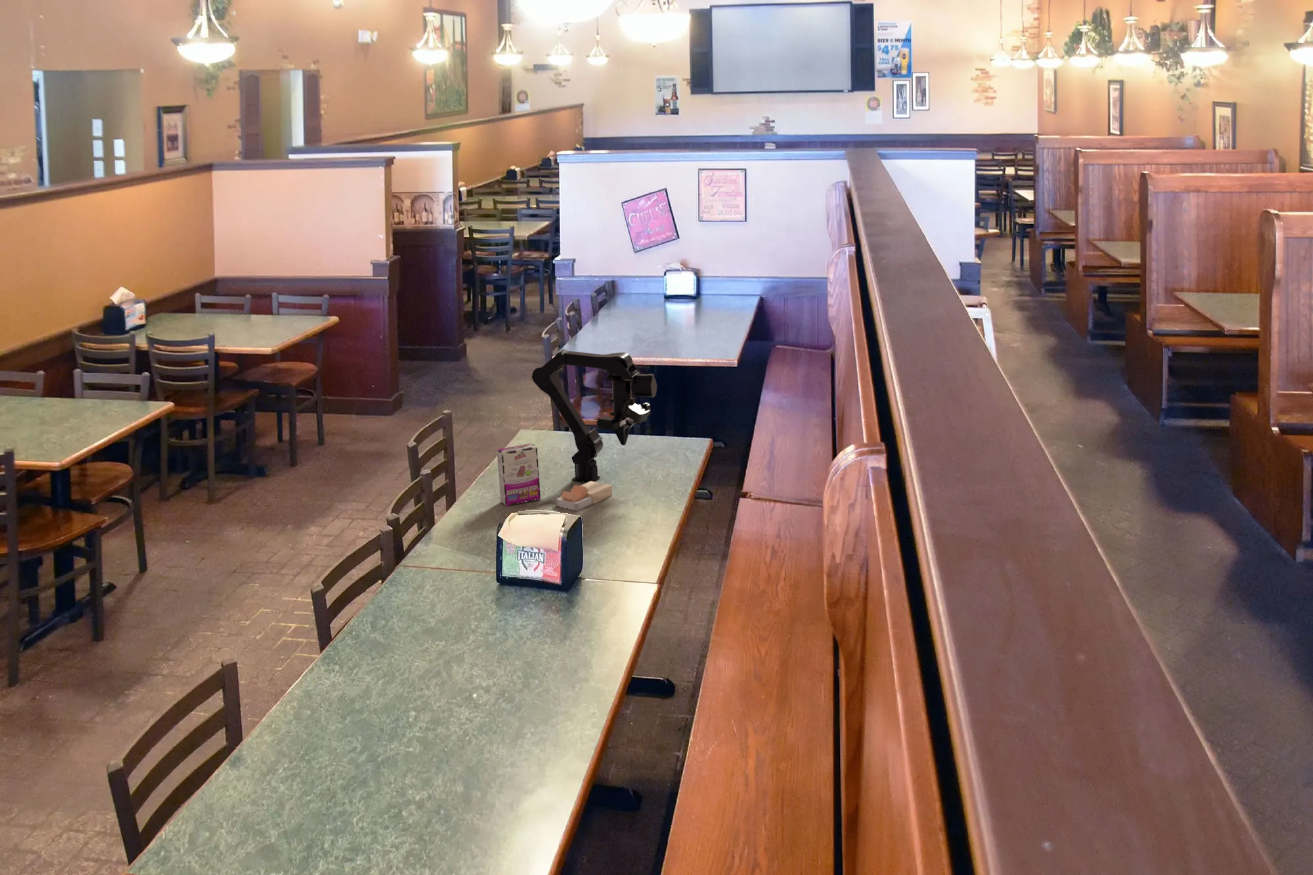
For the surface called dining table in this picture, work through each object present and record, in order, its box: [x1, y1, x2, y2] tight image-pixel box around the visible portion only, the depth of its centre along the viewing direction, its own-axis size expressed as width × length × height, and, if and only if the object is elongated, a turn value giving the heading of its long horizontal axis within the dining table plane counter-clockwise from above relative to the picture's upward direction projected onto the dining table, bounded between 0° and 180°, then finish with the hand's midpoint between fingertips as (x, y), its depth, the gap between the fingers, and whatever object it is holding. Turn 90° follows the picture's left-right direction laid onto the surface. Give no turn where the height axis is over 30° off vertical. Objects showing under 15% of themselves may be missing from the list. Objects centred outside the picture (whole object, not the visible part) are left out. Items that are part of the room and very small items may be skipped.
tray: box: [555, 496, 593, 512], centre depth 332 cm, size 8×7×2 cm
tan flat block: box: [570, 481, 613, 505], centre depth 338 cm, size 8×9×3 cm
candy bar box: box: [496, 443, 542, 507], centre depth 334 cm, size 11×5×16 cm, turn 117°
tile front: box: [560, 490, 580, 502], centre depth 330 cm, size 4×4×2 cm
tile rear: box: [570, 484, 588, 500], centre depth 333 cm, size 4×4×2 cm
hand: (623, 444), depth 348 cm, fingers closed
